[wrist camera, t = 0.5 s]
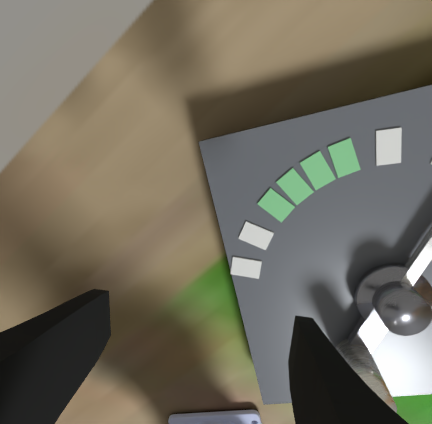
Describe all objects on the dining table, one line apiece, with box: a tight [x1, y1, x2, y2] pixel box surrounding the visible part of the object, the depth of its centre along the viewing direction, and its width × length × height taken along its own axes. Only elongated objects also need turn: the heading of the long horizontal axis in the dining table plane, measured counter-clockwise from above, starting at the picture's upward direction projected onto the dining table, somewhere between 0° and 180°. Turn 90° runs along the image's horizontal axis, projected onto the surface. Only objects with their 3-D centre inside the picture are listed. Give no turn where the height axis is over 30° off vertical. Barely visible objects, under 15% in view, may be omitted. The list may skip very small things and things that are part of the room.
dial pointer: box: [336, 226, 432, 412], centre depth 15 cm, size 14×4×4 cm, turn 159°
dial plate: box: [199, 84, 432, 404], centre depth 19 cm, size 19×16×3 cm
